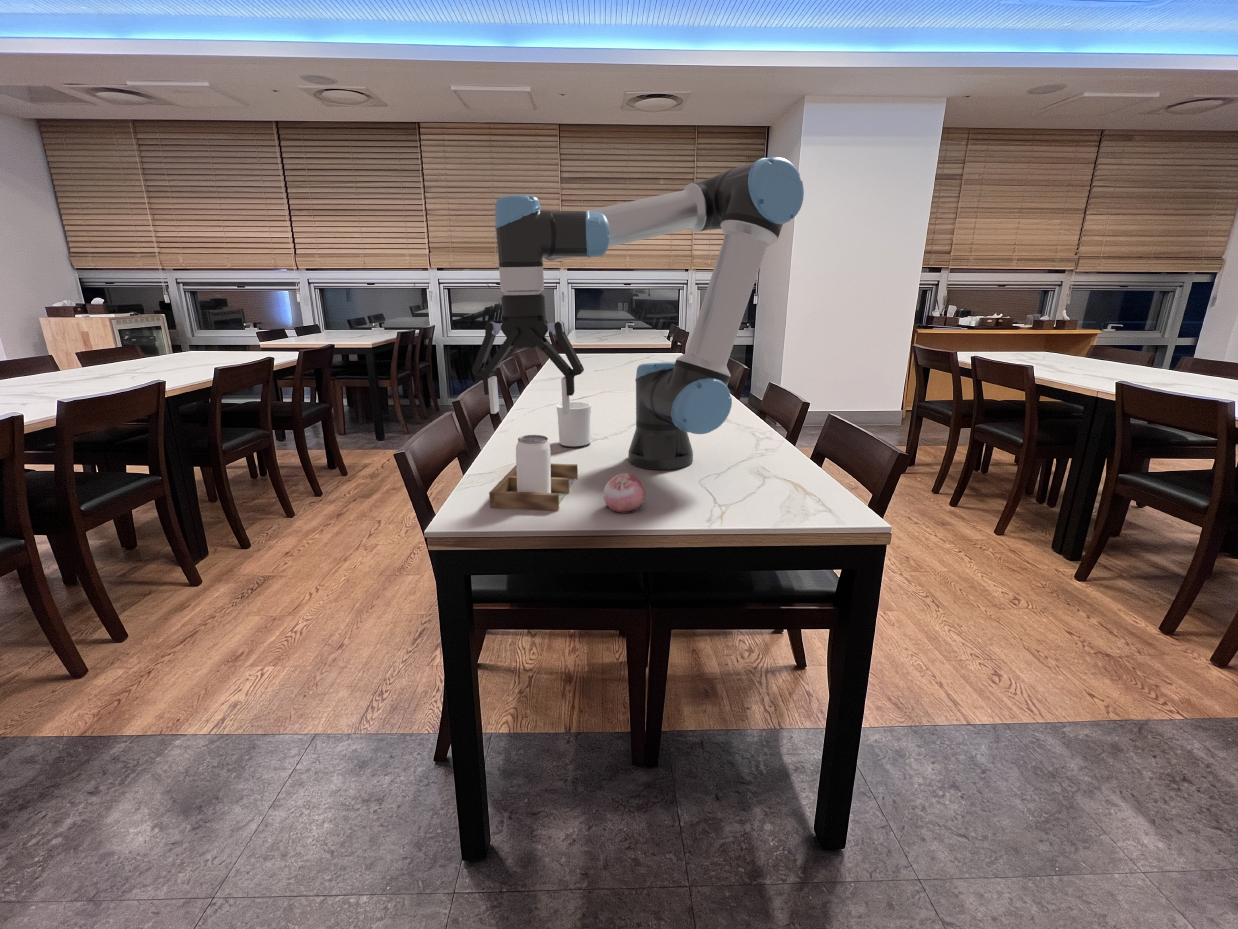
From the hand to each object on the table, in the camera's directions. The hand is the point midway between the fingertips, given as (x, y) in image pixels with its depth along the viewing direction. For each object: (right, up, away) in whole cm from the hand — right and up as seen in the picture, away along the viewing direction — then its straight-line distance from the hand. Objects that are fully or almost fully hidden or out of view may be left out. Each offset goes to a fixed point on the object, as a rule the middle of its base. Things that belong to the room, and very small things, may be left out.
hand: (530, 412), depth 109 cm
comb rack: (0, -15, +9) cm, 18 cm away
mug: (+5, -4, +44) cm, 45 cm away
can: (0, -16, +5) cm, 17 cm away
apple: (+17, -18, +1) cm, 25 cm away
